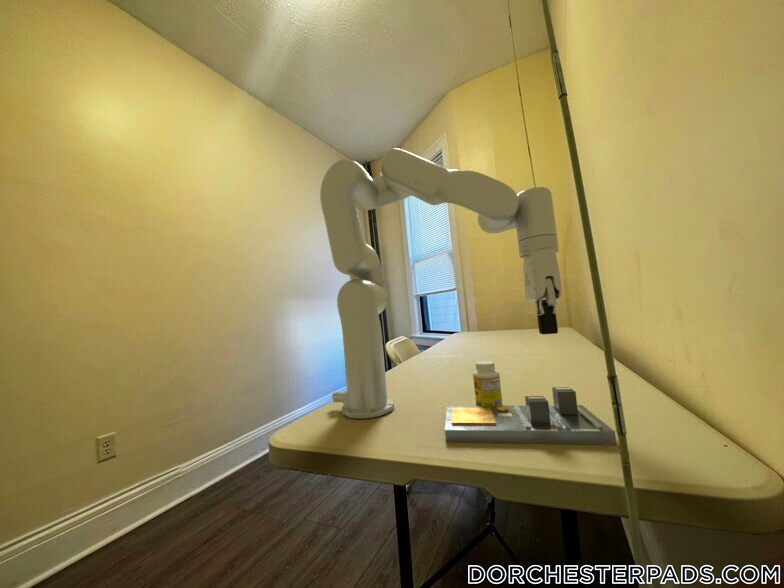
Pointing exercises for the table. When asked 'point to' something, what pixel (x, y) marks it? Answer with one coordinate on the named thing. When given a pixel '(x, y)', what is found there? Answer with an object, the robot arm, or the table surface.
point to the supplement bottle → (487, 384)
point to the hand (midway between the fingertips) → (548, 333)
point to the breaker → (565, 400)
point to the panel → (525, 424)
